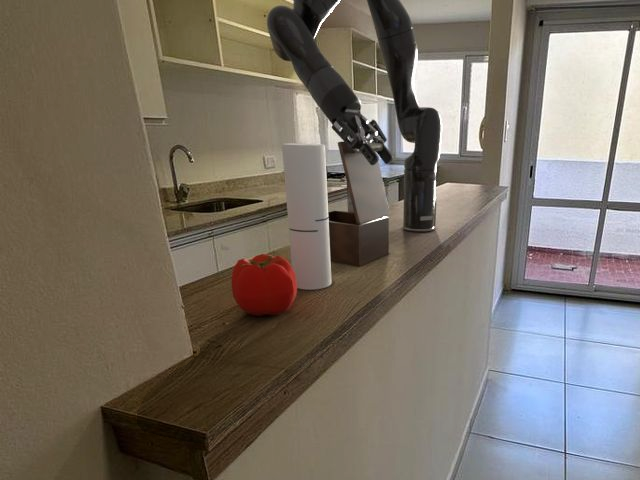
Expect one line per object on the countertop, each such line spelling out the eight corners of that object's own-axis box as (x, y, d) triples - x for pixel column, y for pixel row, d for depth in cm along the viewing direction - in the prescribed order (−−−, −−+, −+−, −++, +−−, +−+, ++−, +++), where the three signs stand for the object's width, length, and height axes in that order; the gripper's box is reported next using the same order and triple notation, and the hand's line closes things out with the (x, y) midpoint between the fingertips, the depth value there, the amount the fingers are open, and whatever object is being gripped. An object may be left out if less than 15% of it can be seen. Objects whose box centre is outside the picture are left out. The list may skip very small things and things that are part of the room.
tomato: (258, 295, 79) (252, 247, 75) (313, 304, 76) (309, 254, 72) (215, 317, 69) (207, 264, 66) (276, 328, 66) (270, 273, 63)
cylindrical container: (339, 283, 86) (333, 145, 76) (307, 292, 81) (297, 145, 71) (317, 275, 90) (309, 143, 81) (286, 282, 85) (273, 143, 76)
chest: (302, 255, 103) (300, 217, 100) (335, 244, 114) (334, 209, 110) (359, 266, 97) (358, 226, 93) (388, 253, 107) (388, 216, 104)
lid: (337, 142, 89) (357, 136, 87) (371, 141, 99) (389, 136, 97) (356, 224, 93) (376, 220, 91) (387, 215, 104) (405, 211, 101)
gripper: (322, 79, 85) (375, 150, 85) (363, 86, 97) (411, 148, 97) (302, 109, 89) (353, 176, 89) (344, 112, 101) (389, 171, 101)
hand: (383, 161), depth 93 cm, fingers closed on lid, 5 cm apart
